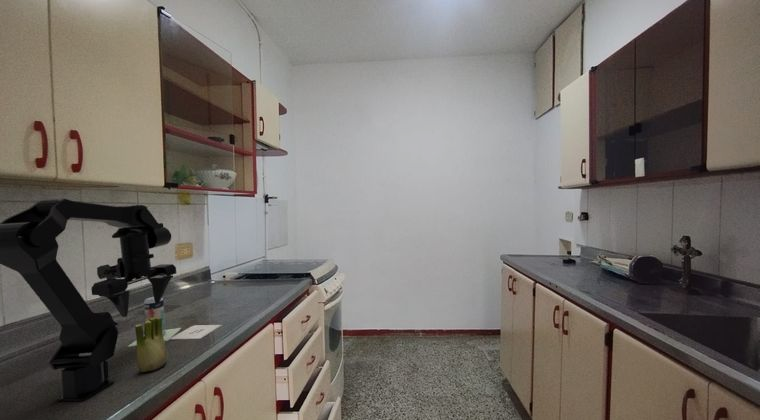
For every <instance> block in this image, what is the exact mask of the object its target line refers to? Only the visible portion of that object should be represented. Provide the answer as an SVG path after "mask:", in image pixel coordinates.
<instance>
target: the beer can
mask: <svg viewBox="0 0 760 420" xmlns="http://www.w3.org/2000/svg"><path fill="white" fill-rule="evenodd" d="M164 304H165V303H164V298H163V297H162V298H161V300H160V302H159V303H155V300H154V296H151V297H147V298H145V300H144V301H143V306H144V307H143V308H144V321H145V322H146V321H149V319H151V318H154V319H155V318H158V317H162V334H163V335H164V334H165V333H166V331H165V330H166V319H165V305H164ZM145 322H144V323H145Z"/></svg>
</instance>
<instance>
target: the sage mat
mask: <svg viewBox="0 0 760 420" xmlns="http://www.w3.org/2000/svg"><path fill="white" fill-rule="evenodd" d="M181 329H182V327H176V328H170V329H165V331H166V333H165V334H164V335H163V338H164V341H165V342H169V339H170V338H172V337H173V336H175V335H177V334H178V332H179V331H181ZM127 347H128V348H131V347H137V339H135V340H134V341H133V342H132V343H130V344H129V345H128V346H127Z"/></svg>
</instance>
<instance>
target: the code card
mask: <svg viewBox="0 0 760 420" xmlns="http://www.w3.org/2000/svg"><path fill="white" fill-rule="evenodd" d="M221 326H222V324H203V325H201V324H199V325H195V324H194V325H192V326H190V327H188V328H186V329H185V330H183V331H181V332H179V333H176V334H175V335H174V336H173V337H172V338H170V339H169V340H173V341H174V340H200V339H203V338H204V337H205V336H207V335H208V334H210V333H212V332H213V331H215V330H217V329H218V328H220V327H221ZM169 340H168V341H169Z"/></svg>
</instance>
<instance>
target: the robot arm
mask: <svg viewBox="0 0 760 420" xmlns="http://www.w3.org/2000/svg"><path fill="white" fill-rule="evenodd" d="M68 221H84V222H96V223H97V222H98V223H99V222H100V223H105V224H107V225H108V226H110V227H111V226H112V227H115V228H118V229H117V230H116V232H114V233H112V236H111V238H112V239H119V244H120V253H121V257H118V258H117V261H116V262H117V263H116V264H115V265H112V266H111V265H109V264H104V265H100V266H98V267H96V274H97V278H98V279H100V280H101V281H97V282H95V283H93V285H92V286H91V295H92V296H99V297H100V298H101V297H102V298H107V299H108V300H109V301H110V302H112V305H114V307H115V309H116V310H117V311H118V313H119V314H120V316H121V317H122V318H126V317H128V314H129V305H130V304H129V302H130V290H127V289H128V287H129V285H132V284H135V283H138V282H142V281H144V280H148V282H150V284H151V286H152V287H151V288H152V294H153V295H152V296H153V297H154V300H155V303H159V302H160V300H161V298H163V296H164V293H165V291H166V289H167V287H168V285H169V283H170V281H171V279H172V278H174V275H176V274H177V267H176V266H175V265H174V264H171V263H169V264H168V263H167V264H163V263H162V264H157V265H154V266H152V265H151V259H153V258H155V257H154V256H155V255H154V253H150V249H154V248H158V247H162V246H166V245H168V244H169V243H170V242H171V240H172V233H171V232H170V230H169V229H168V228H167V227H165V226H164V224H163V222H158V220H156V218H155V217H154V215H153V214H152V213H151V211H150V210H149V209H148V206H146V205H144V204H134V205H133V204H132V205H119V206H117V205H116V206H115V205H106V204H99V203H92V202H84V201H78V200H77V201H76V200H71V199H67V198H53V199H41V200H40V201H37V202H36V203H35V204H33V205H32V206H30V207H29V208H27V209H25V210H23V211H20V212H18V213H16V214H14V215H11V216H9V217H7V218H5V219H4V220H2V221H0V265H1V266H4V267H6V268H8V269H11V270H13V271H15V272H17V273H18V274H19V275H20V276H21V277H22V278H23V279H24V281H25V282H26V284H27V285H29V288H31V290H32V291H33V292H34V293H35V295H36V296H37V297H38V298H39V300H40V301H41V302H42V303H43V305H44V306H45V307H46V308H47V310H48V311H49V313H50V314H51V315H52V317H53V318H54V319H55V320H56V321H57V323H58V324H59V325H60V332H59V336H58V337H59V338H58V339H59V341H60V344H61V345H60V346H59V347H58V349H57V350H56V351H55V353H54V355H53V356H52V358H51V359H50V360H49V363H48V364H49V366H50V367H51V369H52V370H53V371H56V370H60V372H61V373H60V374H61V390H62V394H61V395H59V396H57V397H56V399H55V401H56V402H59V401H60V402H61V401H63V402H64V401H65V402H68V401H71V402H81V401H85V400H87V399H89V398H90V397H92V396H93V395H96V394H97V393H99V392H101V391H102V390H104V389H105V388H107V387H109V386H110V385H113V384H114V383H115V380H114V379H109V378H110V376H109V375H110V374H109V373H110V372H109V362H108V360H109V359H111V358H114V354H115V350H116V345H117V341H118V337H119V330H118V327H117V326H118V324H119V323H118V322H116V321H115V320H114V319H113V317H112V315H111V313H110V312H109V311H102V312H94V311H93V310H92V309H91V308H90V306H89V305H88V304H87V302H86V300H85V299H84V298H83V296H82V294H80V291H79V290H78V289H77V288H76V286H75V285H74V284H73V282H72V280H71V279H70V278H69V276H68V274H67V273H66V272H65V270H64V269H63V267H62V266H61V264H60V263H59V262H58V260H57V256H58V251H59V244H58V241H57V239H56V238H58V236H59V235H61V234H62V233H63V232H64V231H65V230H66V227H67V223H68ZM103 279H104V280H103ZM80 354H85V355H80ZM87 354H88V355H87Z"/></svg>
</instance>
